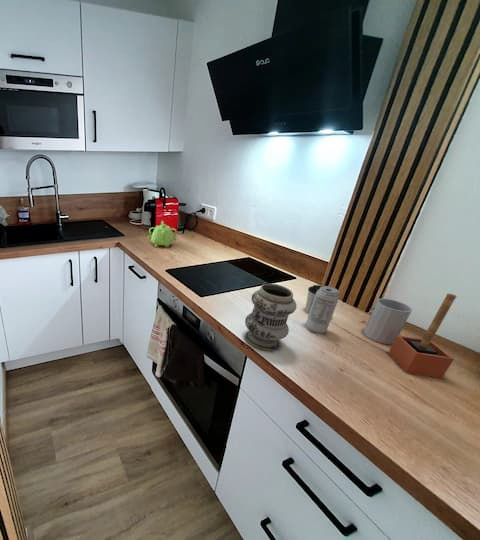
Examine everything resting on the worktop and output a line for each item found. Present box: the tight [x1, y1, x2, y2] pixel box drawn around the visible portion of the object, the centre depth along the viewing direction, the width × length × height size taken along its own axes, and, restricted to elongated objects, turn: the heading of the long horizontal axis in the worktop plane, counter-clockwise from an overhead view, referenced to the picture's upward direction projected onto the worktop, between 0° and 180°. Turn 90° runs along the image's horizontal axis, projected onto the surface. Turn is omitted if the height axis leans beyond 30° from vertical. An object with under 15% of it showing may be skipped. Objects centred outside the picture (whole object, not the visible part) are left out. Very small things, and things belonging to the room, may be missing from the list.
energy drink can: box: [305, 285, 340, 334], centre depth 93 cm, size 6×6×15 cm
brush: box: [408, 293, 458, 355], centre depth 76 cm, size 4×4×22 cm
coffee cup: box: [304, 284, 322, 314], centre depth 104 cm, size 7×7×10 cm
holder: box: [387, 335, 455, 379], centre depth 79 cm, size 8×8×6 cm
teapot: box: [147, 220, 178, 248], centre depth 172 cm, size 16×14×13 cm
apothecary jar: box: [244, 283, 297, 352], centre depth 85 cm, size 12×12×18 cm
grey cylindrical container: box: [363, 297, 413, 345], centre depth 90 cm, size 8×8×12 cm
